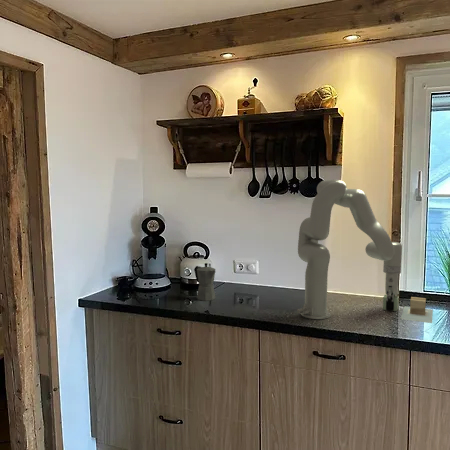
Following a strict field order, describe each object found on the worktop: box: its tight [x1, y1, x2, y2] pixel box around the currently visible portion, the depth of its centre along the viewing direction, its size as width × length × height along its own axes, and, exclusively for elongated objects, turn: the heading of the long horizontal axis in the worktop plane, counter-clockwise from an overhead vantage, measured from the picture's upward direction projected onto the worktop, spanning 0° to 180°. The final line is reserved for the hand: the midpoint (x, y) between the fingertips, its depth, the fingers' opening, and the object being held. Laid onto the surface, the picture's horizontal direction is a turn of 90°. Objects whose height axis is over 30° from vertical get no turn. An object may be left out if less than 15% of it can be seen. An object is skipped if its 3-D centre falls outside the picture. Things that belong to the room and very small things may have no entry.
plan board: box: [400, 306, 434, 324], centre depth 194 cm, size 22×12×1 cm, turn 154°
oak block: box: [409, 296, 427, 315], centre depth 196 cm, size 6×6×6 cm
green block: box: [382, 294, 400, 312], centre depth 202 cm, size 6×6×6 cm
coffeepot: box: [193, 262, 217, 302], centre depth 222 cm, size 15×9×18 cm, turn 44°
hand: (390, 307), depth 202 cm, fingers closed on green block, 6 cm apart
